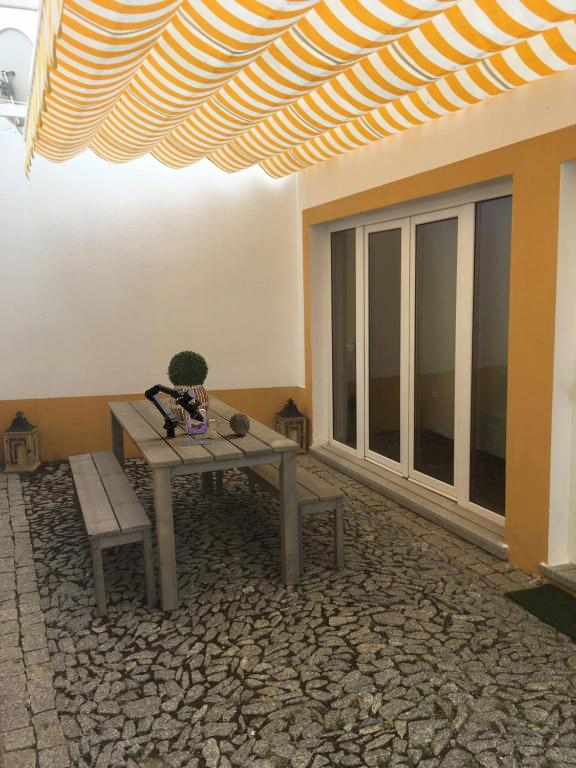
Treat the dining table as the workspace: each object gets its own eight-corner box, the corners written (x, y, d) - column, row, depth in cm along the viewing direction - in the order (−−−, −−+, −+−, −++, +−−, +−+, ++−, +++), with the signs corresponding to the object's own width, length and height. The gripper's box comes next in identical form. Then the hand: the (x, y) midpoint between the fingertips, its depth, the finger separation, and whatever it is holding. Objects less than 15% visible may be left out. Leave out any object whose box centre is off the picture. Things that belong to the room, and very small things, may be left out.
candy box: (187, 434, 447) (186, 411, 445) (185, 433, 452) (184, 410, 450) (207, 432, 452) (206, 409, 450) (205, 431, 457) (204, 408, 455)
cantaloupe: (250, 432, 451) (249, 411, 448) (250, 436, 437) (249, 415, 435) (230, 433, 450) (229, 412, 448) (229, 437, 436) (228, 415, 434)
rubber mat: (181, 441, 429) (181, 440, 429) (208, 439, 432) (208, 438, 432) (182, 445, 415) (182, 445, 415) (210, 444, 419) (210, 443, 419)
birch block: (209, 437, 438) (208, 420, 437) (215, 436, 439) (215, 419, 438) (209, 438, 434) (209, 421, 432) (216, 438, 435) (215, 420, 433)
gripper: (194, 398, 422) (211, 414, 425) (194, 394, 440) (211, 409, 443) (182, 411, 422) (200, 426, 425) (183, 406, 440) (200, 421, 443)
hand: (203, 420), depth 434 cm, fingers open, 9 cm apart
